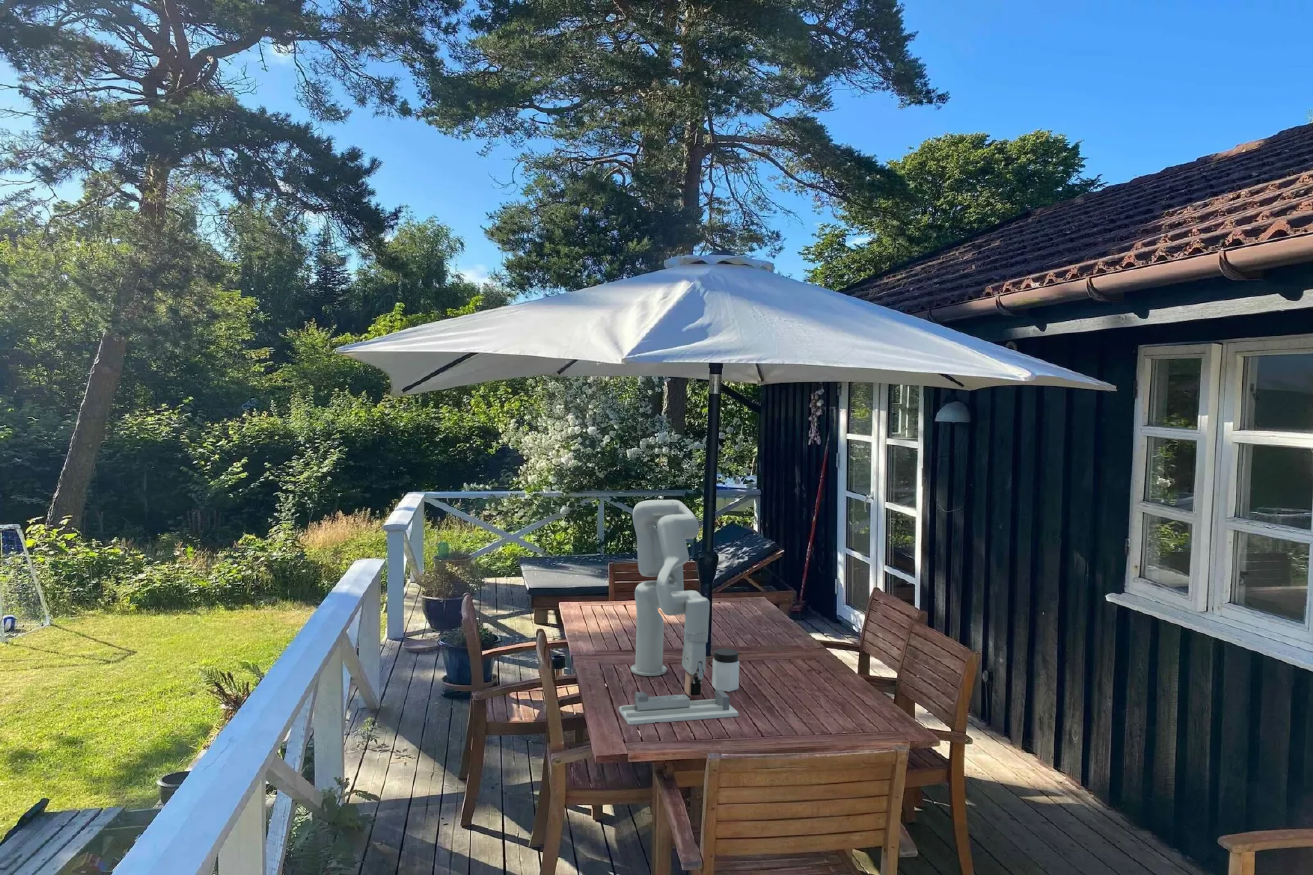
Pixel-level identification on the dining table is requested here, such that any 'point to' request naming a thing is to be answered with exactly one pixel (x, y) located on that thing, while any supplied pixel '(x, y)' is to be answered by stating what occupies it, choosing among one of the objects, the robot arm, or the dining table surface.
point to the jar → (725, 670)
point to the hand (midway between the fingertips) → (692, 691)
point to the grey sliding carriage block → (660, 702)
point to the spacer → (689, 683)
